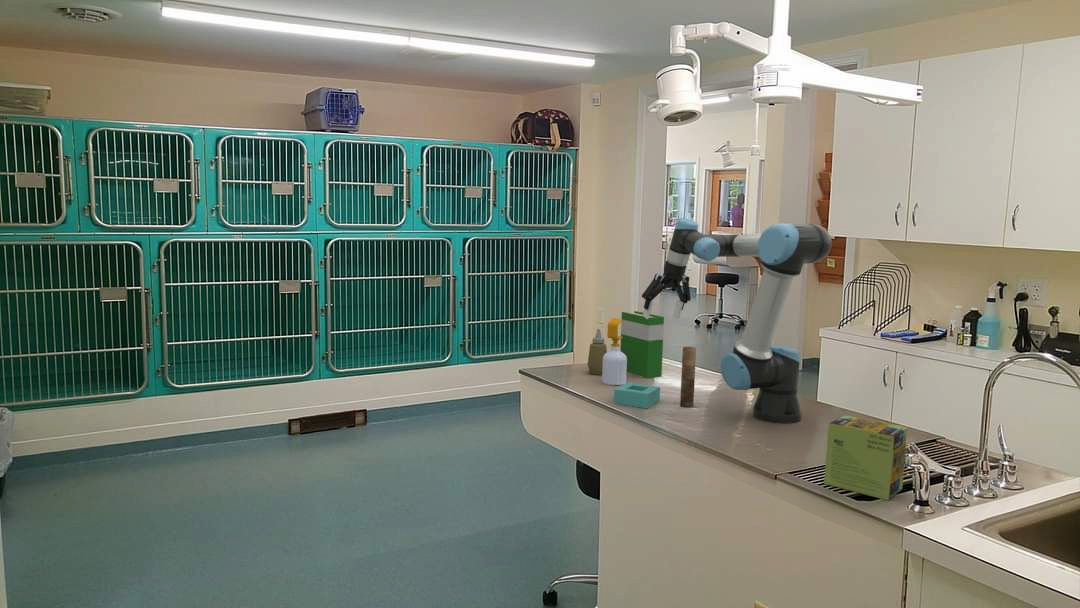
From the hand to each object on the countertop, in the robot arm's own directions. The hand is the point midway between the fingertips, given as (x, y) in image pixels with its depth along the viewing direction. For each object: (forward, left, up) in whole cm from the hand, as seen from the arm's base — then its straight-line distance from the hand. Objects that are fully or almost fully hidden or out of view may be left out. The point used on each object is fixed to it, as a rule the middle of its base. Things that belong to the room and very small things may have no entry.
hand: (660, 317), depth 269 cm
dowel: (-16, +15, -27) cm, 34 cm away
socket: (0, +20, -27) cm, 33 cm away
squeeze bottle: (+30, -13, -27) cm, 43 cm away
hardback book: (+16, -24, -27) cm, 40 cm away
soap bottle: (+18, -2, -27) cm, 33 cm away
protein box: (-76, +64, -27) cm, 103 cm away
